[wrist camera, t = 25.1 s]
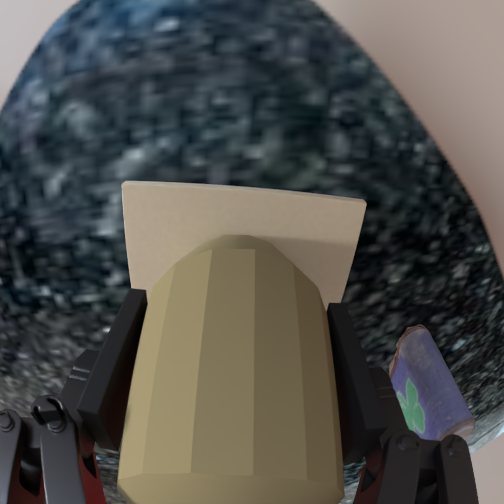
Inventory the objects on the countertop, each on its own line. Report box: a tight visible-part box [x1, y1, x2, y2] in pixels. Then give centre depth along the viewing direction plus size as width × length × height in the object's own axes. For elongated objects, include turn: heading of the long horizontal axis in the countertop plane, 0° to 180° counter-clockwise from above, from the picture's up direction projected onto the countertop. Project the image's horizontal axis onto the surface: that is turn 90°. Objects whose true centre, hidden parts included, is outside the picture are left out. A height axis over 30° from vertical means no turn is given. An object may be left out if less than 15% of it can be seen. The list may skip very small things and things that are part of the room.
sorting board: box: [122, 181, 367, 311], centre depth 21 cm, size 24×12×1 cm, turn 175°
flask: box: [389, 324, 476, 441], centre depth 17 cm, size 9×3×11 cm, turn 3°
